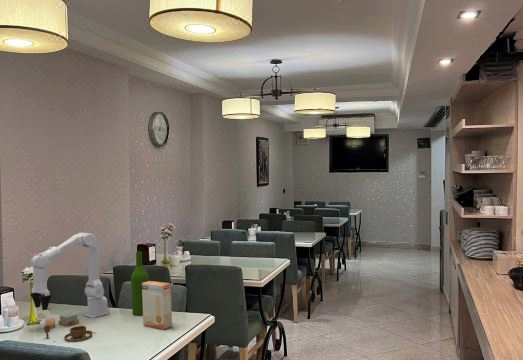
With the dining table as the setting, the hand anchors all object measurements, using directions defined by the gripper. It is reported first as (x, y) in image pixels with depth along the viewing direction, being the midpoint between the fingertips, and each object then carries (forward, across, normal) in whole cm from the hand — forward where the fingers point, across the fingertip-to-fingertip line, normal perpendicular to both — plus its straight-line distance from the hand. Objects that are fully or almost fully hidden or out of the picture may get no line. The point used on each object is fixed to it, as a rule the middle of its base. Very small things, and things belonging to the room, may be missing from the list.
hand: (41, 308), depth 238 cm
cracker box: (+10, +43, +36) cm, 57 cm away
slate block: (+8, +3, +12) cm, 15 cm away
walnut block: (+11, +3, +12) cm, 16 cm away
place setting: (+11, +22, +4) cm, 25 cm away
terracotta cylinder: (+10, 0, +4) cm, 11 cm away
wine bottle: (+10, +18, +44) cm, 49 cm away
